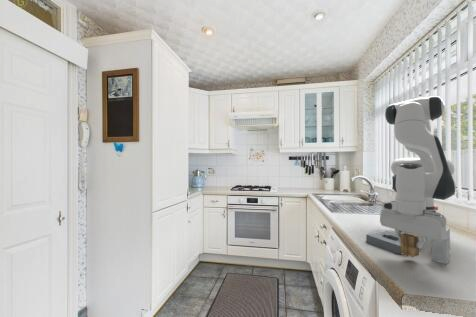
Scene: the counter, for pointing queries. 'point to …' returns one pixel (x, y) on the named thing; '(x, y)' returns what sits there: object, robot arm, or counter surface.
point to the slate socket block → (385, 241)
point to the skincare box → (441, 249)
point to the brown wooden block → (409, 244)
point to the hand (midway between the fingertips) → (409, 245)
